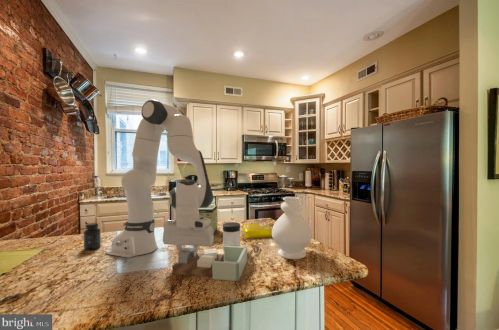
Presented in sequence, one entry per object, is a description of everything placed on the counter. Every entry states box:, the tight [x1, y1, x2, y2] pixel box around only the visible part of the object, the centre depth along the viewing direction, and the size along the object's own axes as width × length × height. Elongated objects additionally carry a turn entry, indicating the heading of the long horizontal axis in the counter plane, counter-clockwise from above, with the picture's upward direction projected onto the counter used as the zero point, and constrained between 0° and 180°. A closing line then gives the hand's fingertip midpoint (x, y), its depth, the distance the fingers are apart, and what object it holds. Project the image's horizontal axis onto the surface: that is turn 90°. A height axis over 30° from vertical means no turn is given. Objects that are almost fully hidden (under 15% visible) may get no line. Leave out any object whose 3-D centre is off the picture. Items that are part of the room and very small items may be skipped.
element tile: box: [242, 222, 272, 239], centre depth 132 cm, size 15×15×5 cm
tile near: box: [197, 255, 215, 268], centre depth 85 cm, size 5×5×2 cm
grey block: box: [177, 245, 199, 265], centre depth 90 cm, size 4×10×4 cm, turn 171°
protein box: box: [198, 204, 218, 237], centre depth 133 cm, size 10×16×16 cm
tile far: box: [203, 247, 218, 258], centre depth 92 cm, size 5×5×2 cm
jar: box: [222, 221, 241, 252], centre depth 107 cm, size 9×8×12 cm
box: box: [212, 246, 248, 282], centre depth 87 cm, size 10×16×6 cm, turn 170°
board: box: [171, 252, 224, 278], centre depth 89 cm, size 16×13×3 cm
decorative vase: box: [271, 196, 313, 260], centre depth 102 cm, size 18×18×25 cm
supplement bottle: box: [83, 222, 102, 251], centre depth 112 cm, size 7×7×12 cm
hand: (188, 255), depth 89 cm, fingers closed on grey block, 3 cm apart
